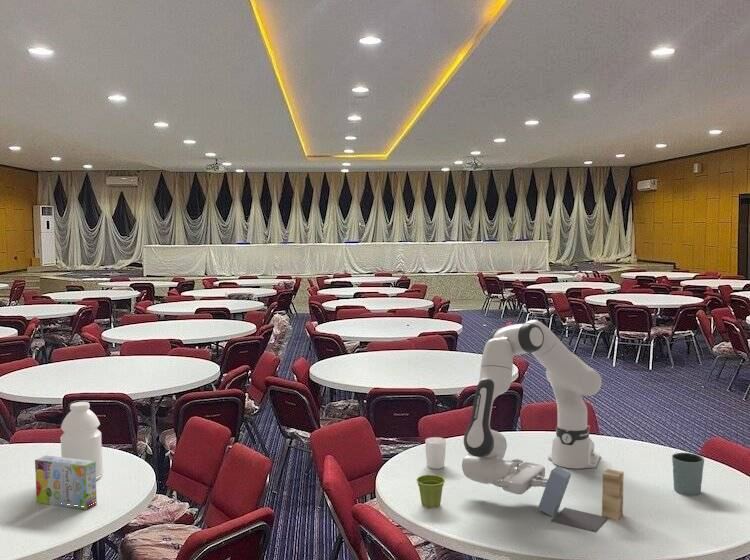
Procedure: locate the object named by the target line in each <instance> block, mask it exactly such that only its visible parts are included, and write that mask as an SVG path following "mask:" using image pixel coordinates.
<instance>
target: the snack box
mask: <svg viewBox="0 0 750 560" xmlns="http://www.w3.org/2000/svg"><path fill="white" fill-rule="evenodd" d="M34 465H35V468H34V469H35V495H36V498H35V499H36V503H37V504H38V503H39V504H46V505H52V506H59V507H65V508H73V509H79V510H89V509H90V508H93V507H96V506H97V505H98V504H97V480H96V461H89V460H81V459H72V458H64V457H62V456H55V455H47V454H46V455H44V456H42V457H39V458H37V459H36V458H35V460H34ZM95 502H96V503H95ZM61 503H62V504H61ZM93 503H94V504H93ZM67 504H70V505H67ZM91 504H92V505H91ZM74 505H78V506H74ZM89 505H90V506H89ZM81 506H84V507H81Z"/></svg>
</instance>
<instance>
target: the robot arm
mask: <svg viewBox="0 0 750 560" xmlns="http://www.w3.org/2000/svg"><path fill="white" fill-rule="evenodd" d="M491 331H492V330H491ZM528 353H529V354H532V355H533V357H534V358H535V359H536V360H537V361H538V362H539V363H540V364H541V366H542V367H544V368H545V369H546V371H545V376H546V380H547V381H548V382H549V384H550V386H551V388H552V390H553V393H554V398H555V400H556V408H557V425H556V428H555V435H556V436H555V437H554V438H552V444H551V454H549V455H548V457H547V459H548V460H549V461H552V463H553V464H555V465H556V466H558V467H560V468H567V469H577V470H578V469H586V468H587V469H590V468H591V469H592V468H594V469H595V468H597V465H598V463H599V460H600V459H601V454H600V453H598V452H596V451H595V442H594V441H593V440H592V439H591V438H590V430H591V425H590V424H589V425H588V407H587V405H586V403H585V402H584V400H583V398H582V396H594V395H596V394H597V393H598V392H599V391H600V389H601V387H602V384H603V383H602V382H603V381H602V376H601V374H600V373H599V372H597V371H596V370H595V369H593V367H590V366H589V365H587V363H585V362H584V361H583V360H582V359H581V358H580V357H578V355H576V354H575V353H573V352H572V351H571V350H569V349H568V348H567V347H566V346H565V344H564V343H563V342H562V341H561V340H560V339H559V338H558V337H557V336H556V335H555V333H554V332H553V330H552V329H550V328H549V327H548V326H547V325H545V324H544V323H542V322H541V321H539V320H537V319H530V320H528V321H526V322H524V323H515V324H510V325H507V326H504V327H498V328H497V327H496V329H493V331H492V332H490V333H489V337H488V340H487V341H486V343H485V345H484V349H483V352H482V356H481V363H480V370H479V371H480V372H479V377H478V383H477V385H476V389H475V395H474V400H473V405H472V409H471V415H470V416H471V417H470V421H469V424H468V425H467V429H466V430H465V432H464V436H463V445H464V448H465V450H466V452H467V454H465V455H464V457H463V459H462V463H461V471H462V473H463V475H464V476H465V477H466V478H467V479H468V480H471V481H474V482H477V483H480V484H484V485H490V484H491V485H493V486H495V487H496V488H502V490H504V491H506V492H509V493H511V494H514V495H515V494H516V495H523V494H525V493H526V492H527V491H528V490H529V489H531V488H532V487H533V488H538V487H542V488H545V487H546V484H547V482H548V479H549V478H545V477H546V467H545V466H544V465H541V464H538V463H534V462H529V461H524V460H523V459H520V458H516V459H512V460H511V459H510V460H508V459H507V460H504V457H505V454H506V451H507V445H508V443H507V440H506V437H505V436H504V435H503V434H502V433H501V432H499V431H496V430H494V429H492V428H491V417H492V409H493V404H494V402H495V399H496V398H498V396H500V395H502V394H504V393H506V392H507V391H508V390H509V389H510V386H511V383H512V379H513V368H514V366H513V365H514V361H513V358H514V356H520V355H524V354H528Z"/></svg>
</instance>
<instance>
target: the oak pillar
mask: <svg viewBox="0 0 750 560" xmlns="http://www.w3.org/2000/svg"><path fill="white" fill-rule="evenodd" d="M624 475H625V474H624V471H621V470H616V469H610V468H607V469H606V470H605V471H603V473H602V494H601V495H602V499H601V503H602V504H601V506H602V507H601V516H604V517H608V519H611V520H612V519H613V520H615V521H619V520H620V518H621V517H622V516H623V515H624V513H623V512H624V511H623V509H624V478H625V477H624Z"/></svg>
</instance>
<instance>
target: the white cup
mask: <svg viewBox="0 0 750 560" xmlns="http://www.w3.org/2000/svg"><path fill="white" fill-rule="evenodd" d="M424 440H425V441H424V442H425V446H424V447H425V458H426V467H428V468H430V469H433V470H434V469H435V470H437V469H442V468H444V467H445V462H446V461H445V460H446V446H447V445H446V444H447V439H445V438H444V437H437V436H436V437H435V436H433V437H427V438H426V439H424Z"/></svg>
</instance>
